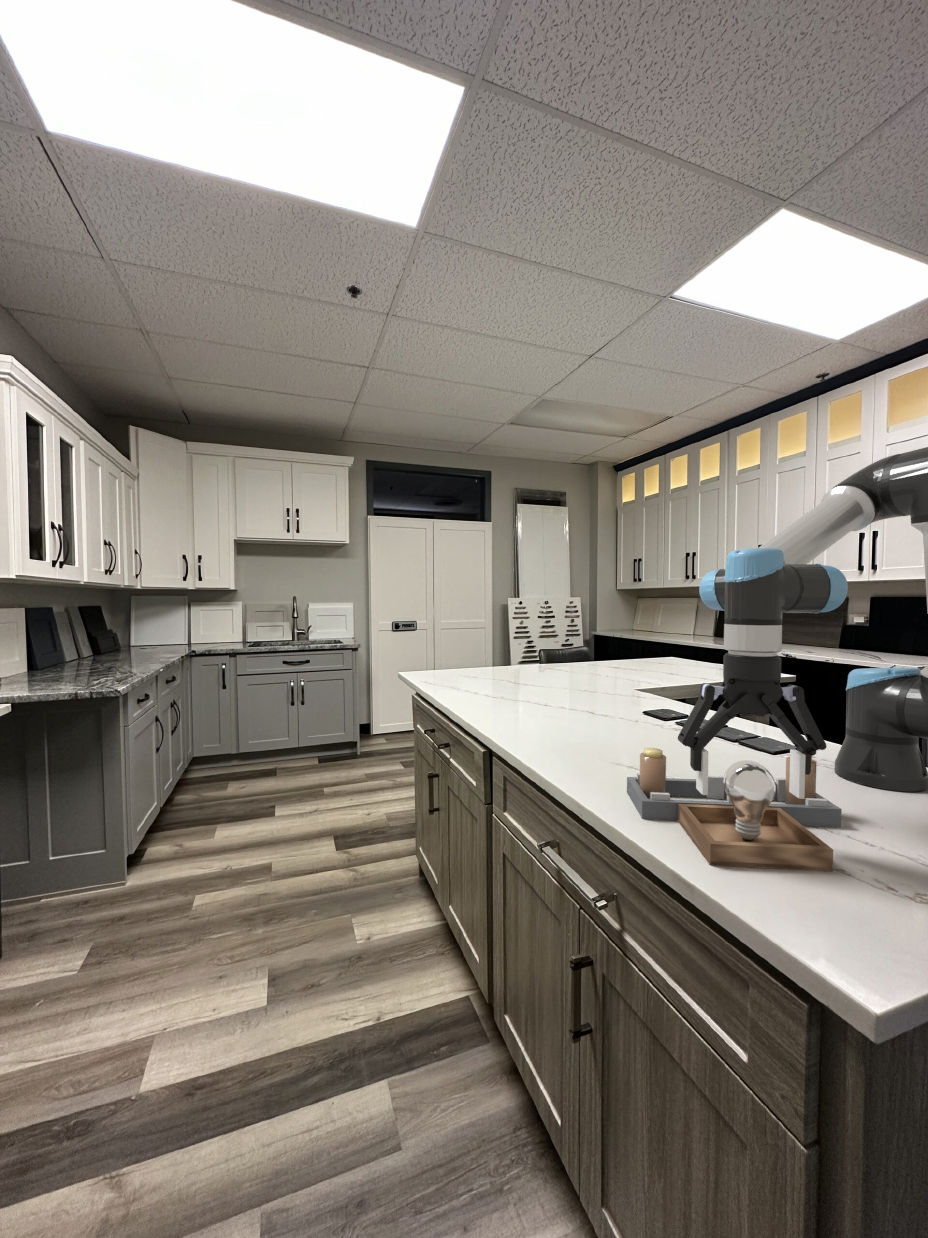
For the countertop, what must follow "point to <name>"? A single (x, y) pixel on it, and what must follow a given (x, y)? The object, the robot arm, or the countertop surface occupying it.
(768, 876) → the countertop surface
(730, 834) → the tray
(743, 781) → the light bulb
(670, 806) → the holder
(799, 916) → the countertop surface
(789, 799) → the cylinder
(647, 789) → the cylinder
